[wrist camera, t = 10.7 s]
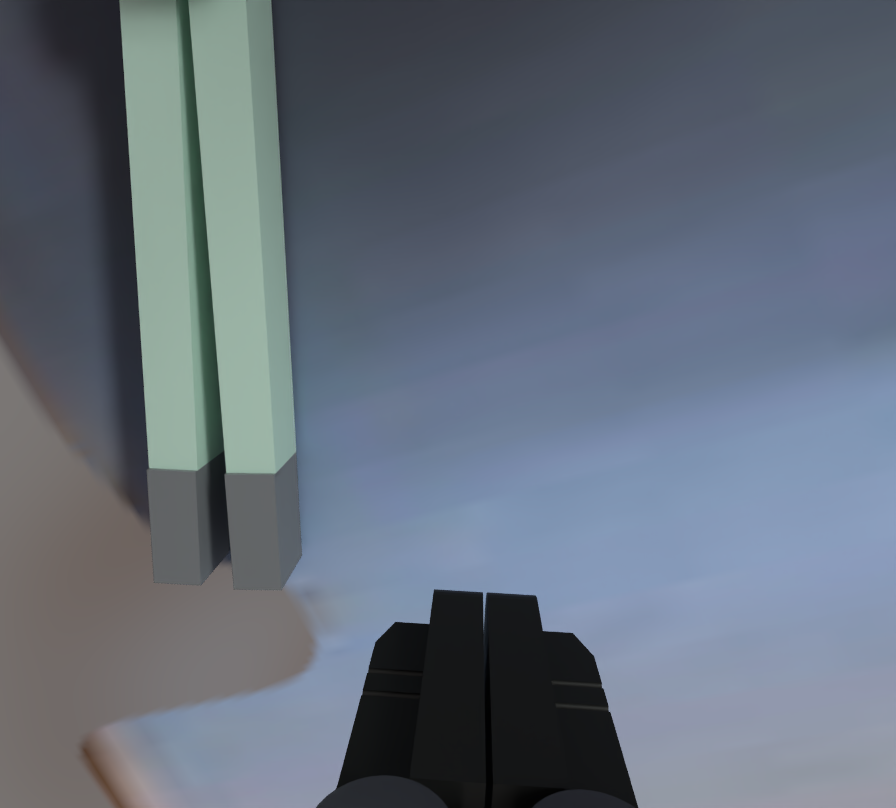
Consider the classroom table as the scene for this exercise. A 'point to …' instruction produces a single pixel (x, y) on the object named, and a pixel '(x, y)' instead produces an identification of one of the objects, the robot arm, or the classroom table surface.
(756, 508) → the classroom table surface
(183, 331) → the bar
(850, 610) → the classroom table surface
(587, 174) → the classroom table surface
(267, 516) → the tongs arm
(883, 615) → the classroom table surface
